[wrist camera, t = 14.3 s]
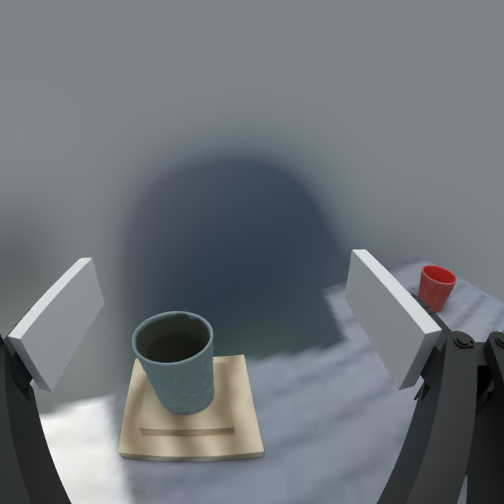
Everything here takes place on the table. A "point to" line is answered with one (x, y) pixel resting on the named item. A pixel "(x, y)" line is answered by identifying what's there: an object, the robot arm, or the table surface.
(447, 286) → the flower pot
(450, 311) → the table surface
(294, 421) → the table surface
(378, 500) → the robot arm
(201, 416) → the stepped square base
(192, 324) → the blue-grey embossed cup
